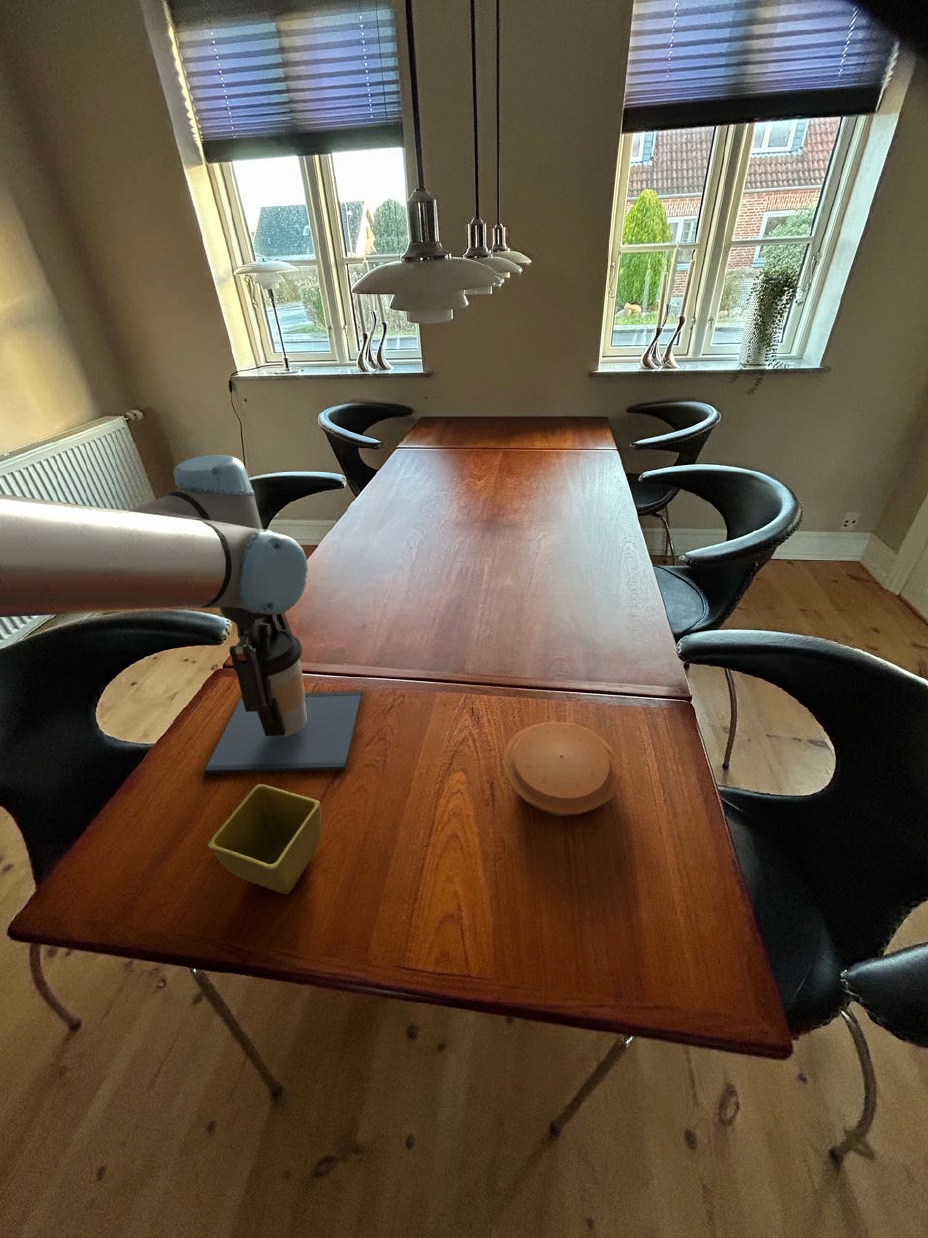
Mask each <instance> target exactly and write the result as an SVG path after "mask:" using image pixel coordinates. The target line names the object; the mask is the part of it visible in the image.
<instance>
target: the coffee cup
mask: <svg viewBox="0 0 928 1238" xmlns="http://www.w3.org/2000/svg"><path fill="white" fill-rule="evenodd" d="M292 634H293V633H292ZM292 634H291V633H290V632H289V631H287V630H284V629H281V631H280V635H277V636H272V637H271V638H270V646H271V653H270V654H269V655H268V656H267V657H266V658H265V660H258V665H259V668H260V667H262V666H263V665H264V664H265V667H266V669H265V670H260V675H261V677H266V676H268V678H269V680H270V685H271V695H272V698H275V699H276V702H277V705H278V708H279V712H280V715H281V718H282V721H283V724H284V728H285V731H286V732H285V735H284V736H279V737H285V736H289V735H292V734H294V733H296V732H298V731H299V730H300V729H302V728H303V727H304V725H305V724H306V722H307V715H306V707H305V699H304V698H305V693H306V691H305V684H304V677H303V667H302V663H301V662H300V658H301V656H302V654H303V646H302V644H301V642H300V640H299V638H298V637H296V636H295V635H292ZM238 643H239V641H238V642H237V643H236V645H235V646H237V645H238ZM253 649H255V650H263V648H253ZM231 663H232V664H231V665H232V668H233V670H234V672H236V667H235V663H234V661H233V659H232V658H231Z"/></svg>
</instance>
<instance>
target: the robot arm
mask: <svg viewBox="0 0 928 1238" xmlns="http://www.w3.org/2000/svg"><path fill="white" fill-rule="evenodd" d="M173 477H174V484H175V488H176V490H173V491H171V492H169V493H168V494H167V495H164V496H162V497H160V498H157V499H154V500H152V501H149V502H146V503H144V504H142V505H139V506H137V507H134V508H132V509H129V510H123V509H116V508H108V507H101V506H94V505H87V504H79V503H71V502H64V501H57V500H50V499H41V498H34V497H27V496H19V495H13V494H7V493H0V618H16V617H17V618H18V617H19V618H20V617H39V616H58V615H60V616H61V615H79V614H80V615H81V614H96V613H98V614H101V613H103V614H104V613H121V612H122V613H123V612H143V611H144V612H145V611H162V610H183V609H217V608H219V611H220V613H221V615H222V616H223V617H224V618H225V619H227V620H229V621H231V622H232V623H234V624H235V626H236V631H237V638H238V639H239V641H238V642H239V643H238V642H237V644H238V645H237V644H236V645H237V646H236V645H230V646H229V656H230V657H231V660H232V659H233V661H234V663H235V667H236V671H235V672H236V676H237V680H238V685H239V688H240V693H241V697H242V698H243V702H244V706H245V710H246V712H258V715H259V718H260V721H261V724H262V727H263V730H264V733H265V736H284V735H285V732H286V731H285V728H284V724H283V721H282V718H281V715H280V712H279V708H278V705H277V702H276V699H275V698H272V695H271V685H270V680H269V678H268V676H266V677H261V675H260V670H265V669H266V667H265V664H264V665H263V666H262V667H260V668H259V665H258V660H265V658H266V657H267V656H268V655H269V654H270V653H271V646H270V638H271V637H272V636H277V635H280V631H281V629H284V630H287V631H289V632H290V633H291V634H292V635H293V631H292V629H291V627H290V626H291V625H290V623H289V621H288V618H287V616H286V613H285V612H287V611H289V610H290V609H292V608H293V607H294V606H295V605H296V604H297V603H298V602H299V600H300V599H301V597H302V595H303V593H304V591H305V588H306V586H307V577H308V576H307V575H308V572H309V567H308V560H307V555H306V553H305V551H304V549H303V547H302V546H301V544H299V542H298V541H296V540H295V539H294V538H292V537H290V536H288V535H285V534H281V533H277V532H274V531H273V530H271V529H264V528H263V525H262V522H261V517H260V514H259V509H258V505H257V502H256V497H255V490H253V487H252V484H251V481H250V477H249V475H248V473H247V470H246V468H245V465H244V463H243V462H242V460H240V459H239V458H237V457H235V456H231V455H226V454H211V455H203V456H202V455H201V456H196V457H193V458H189V459H187V460H184V461H182V462H181V463H179V464H177V466H175V467H174V469H173ZM293 636H294V635H293ZM253 648H263V650H255V649H253Z"/></svg>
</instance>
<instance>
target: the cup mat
mask: <svg viewBox="0 0 928 1238" xmlns="http://www.w3.org/2000/svg"><path fill="white" fill-rule="evenodd" d="M362 696H363V692H362V691H360V690H359V691H327V692H326V691H323V692H321V691H320V692H305V698H304V699H305V707H306V715H307V722H306V724H305V725H304V727H303V728H302V729H300V730H299V731H298V732H296V733H294V734H292V735H289V736H285V737H279V736H265V733H264V730H263V727H262V724H261V721H260V718H259V715H258V712H246V710H245V706H244V702H243V698H242V696H240V699H239V701H238V703H237V706H236V707H235V709H234V710H233V713H232V715H231V717H230V719H229V721H228V723H227V725H226V727H225V729H224V730H223V733H222V735H221V737H220V738H219V741H218V743H217V745H216V747H215V749H214V750H213V753H212V755H211V757H210V759H209V761H208V763H207V764H206V766H205V769H204V773H205V774H232V773H233V774H234V773H239V774H240V773H271V772H309V771H311V772H313V771H341V770H342V771H344V770H346V765H347V762H348V757H349V753H350V748H351V744H352V741H353V735H354V730H355V727H356V723H357V718H358V714H359V709H360V704H361V701H362Z"/></svg>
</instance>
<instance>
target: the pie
mask: <svg viewBox="0 0 928 1238" xmlns="http://www.w3.org/2000/svg"><path fill="white" fill-rule="evenodd" d="M501 766H502V770H503V773H504V777H505V779H506V781H507V782H508V784H509V786H510V788H511V789H512V790H513V792H514V793H515V794H516V795H518V796H519V797H520V798H521V799H522V800H523V801H525V802H526V803H527V804H529V805H532V807H534V808H536V809H537V810H539V811H541V812H542V813H545V814H549V815H553V816H556V817H557V816H558V817H569V816H575V815H582V814H585V813H587V812H591V811H593V810H595V809H597V808H599V807H601V806H604V805H605V804H607V803H609V802H610V801H611V800H612V798H613V796H614V795H615V794H616V793H617V791H618V789H619V787H620V783H621V780H622V777H623V775H622V766H621V762H620V759H619V758H618V756H617V754H616V752H615V750H614V749H613V748H612V747H611V746H610V745H609V744H608V742H607V741H606V740H605V739H604V738H602V737H601V736H599V735H597V734H596V733H595V732H594V731H592V730H590V729H588V728H586V727H584V726H582V725H579V724H577V723H570V722H564V721H563V722H562V721H549V722H547V721H545V722H543V723H537V724H533V725H529V726H528V727H526V728H523V729H522V730H519V731H518V732H517V733H516V734H515V735H514V736H513V737H511V739H510V740H509V741H508V743H507V746H506V748H505V750H504V753H503V758H502V763H501Z"/></svg>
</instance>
